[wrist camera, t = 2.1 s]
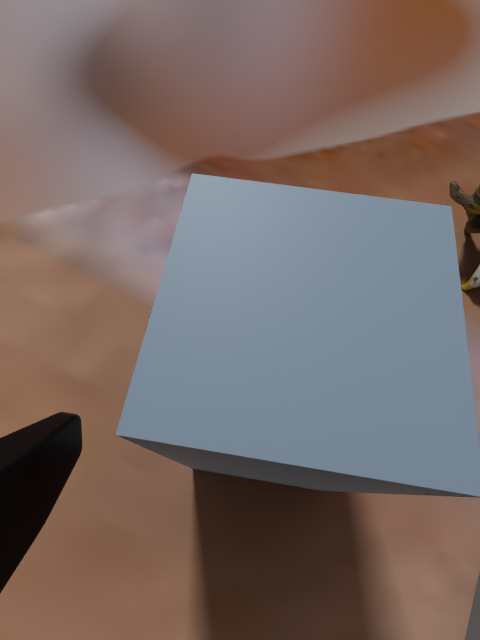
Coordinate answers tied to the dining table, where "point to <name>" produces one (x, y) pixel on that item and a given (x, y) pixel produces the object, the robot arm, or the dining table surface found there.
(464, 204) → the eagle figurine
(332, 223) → the slate blue brick
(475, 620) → the tower base
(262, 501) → the dining table surface
